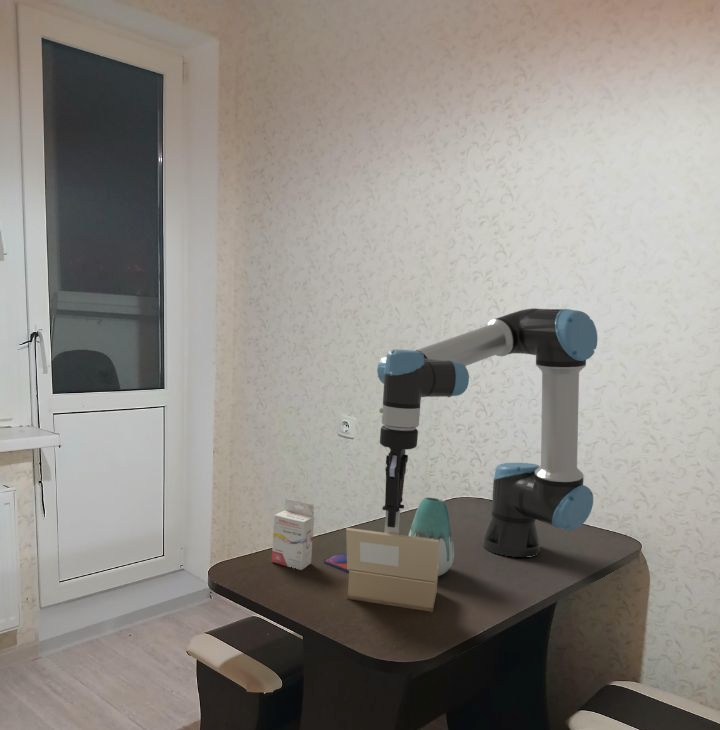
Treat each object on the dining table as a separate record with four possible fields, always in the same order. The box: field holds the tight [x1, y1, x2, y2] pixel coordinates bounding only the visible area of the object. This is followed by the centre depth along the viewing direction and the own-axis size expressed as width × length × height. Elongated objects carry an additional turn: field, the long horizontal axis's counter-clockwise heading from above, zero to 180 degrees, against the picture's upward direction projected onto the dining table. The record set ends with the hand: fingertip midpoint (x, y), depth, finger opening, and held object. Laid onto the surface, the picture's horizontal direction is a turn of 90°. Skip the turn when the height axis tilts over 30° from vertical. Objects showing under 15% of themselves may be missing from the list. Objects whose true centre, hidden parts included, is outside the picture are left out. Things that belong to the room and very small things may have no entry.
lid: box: [345, 527, 439, 583], centre depth 129 cm, size 19×11×1 cm
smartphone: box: [323, 553, 349, 574], centre depth 151 cm, size 7×15×1 cm, turn 50°
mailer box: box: [347, 566, 439, 613], centre depth 137 cm, size 18×10×6 cm, turn 78°
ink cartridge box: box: [271, 498, 315, 571], centre depth 150 cm, size 9×5×15 cm, turn 65°
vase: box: [407, 497, 455, 577], centre depth 151 cm, size 12×12×18 cm
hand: (390, 540), depth 129 cm, fingers closed
